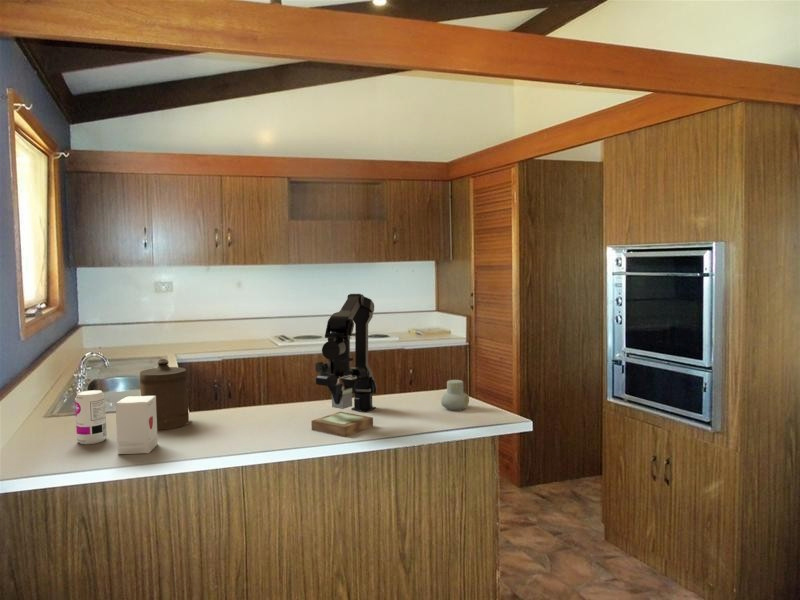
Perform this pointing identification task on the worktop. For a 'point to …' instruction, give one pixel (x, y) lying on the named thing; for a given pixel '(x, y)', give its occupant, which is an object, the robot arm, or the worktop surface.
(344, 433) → the platform
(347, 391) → the grey box
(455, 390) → the air freshener
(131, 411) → the supplement box
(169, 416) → the wooden container
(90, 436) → the supplement can
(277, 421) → the worktop surface
